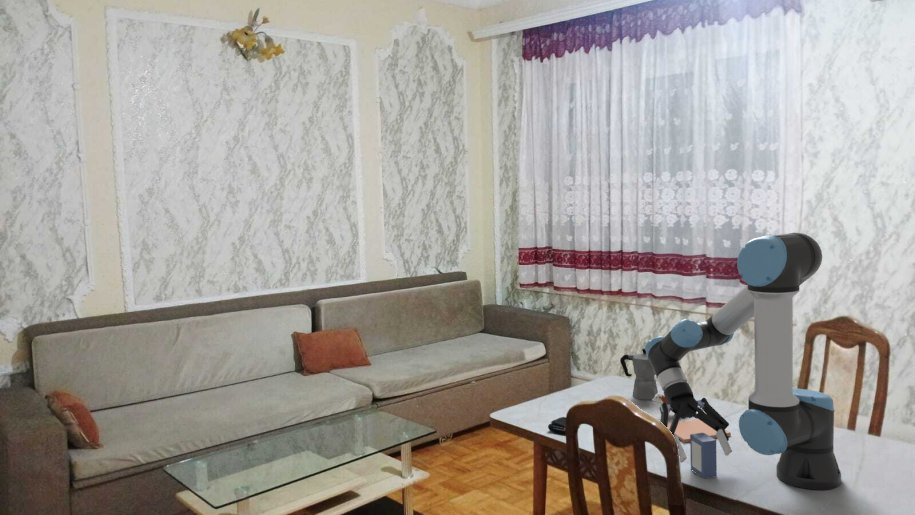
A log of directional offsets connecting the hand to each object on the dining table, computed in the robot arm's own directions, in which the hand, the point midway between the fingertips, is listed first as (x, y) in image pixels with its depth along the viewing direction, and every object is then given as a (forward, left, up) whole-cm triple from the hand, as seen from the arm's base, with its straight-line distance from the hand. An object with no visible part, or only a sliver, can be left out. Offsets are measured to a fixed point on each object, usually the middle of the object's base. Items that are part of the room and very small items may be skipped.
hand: (706, 457), depth 186 cm
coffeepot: (+69, -18, -5) cm, 71 cm away
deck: (+2, 0, -5) cm, 5 cm away
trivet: (+30, -15, -5) cm, 34 cm away
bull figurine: (+47, -17, -5) cm, 50 cm away
